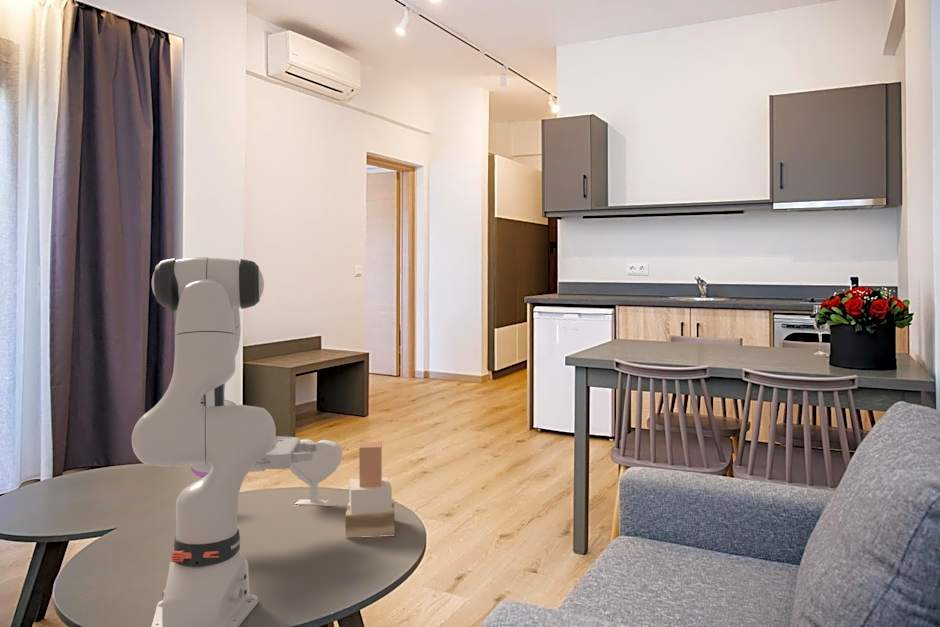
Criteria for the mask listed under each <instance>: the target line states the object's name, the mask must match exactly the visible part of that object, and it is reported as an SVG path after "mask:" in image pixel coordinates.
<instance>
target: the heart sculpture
mask: <svg viewBox="0 0 940 627" xmlns="http://www.w3.org/2000/svg"><path fill="white" fill-rule="evenodd" d="M300 441H301V443H308V444H317V450H316V451H315V452H312V453H313V459H312V460H309V461H301V462H297V463H293V464H292V465H291V467H290V468H289V470H290V471H291V473H292V474H293V475H295V477H297V478H298V479H299V480H301V481H303V482H304V483H305V484H307V485H308V486H309V493H310V494H309V495H310V497H309V499H298V500H299V501H297V502H296V503H295V504H324V503H327V501H328V500H326V501H325V499H319V484H320V483H321V482H323V481H325V480H326V479H327V478H328V477H330V476H331V475H332V474H333V473H335V472H336V471H337V469H338V467H339V466H340V464H341V462H342V458H343V451H342V450H343V449H342V446H341V445H340V444H339V443H338V442H335V441H332V440H328V439H321V440H319V441H318V442H315V441H314V440H312V439H310V438H307V439H300ZM305 452H309V451H303V452H299V453H305Z"/></svg>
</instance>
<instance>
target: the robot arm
mask: <svg viewBox="0 0 940 627" xmlns="http://www.w3.org/2000/svg"><path fill="white" fill-rule="evenodd" d="M264 287H265V281H264V276H263V274H262V271H261V270H260V266H259V265H258V264H257V263H256V262H255V261H253V260H249V259H243V258H240V259H239V260H238V259H229V258H215V257H214V258H213V257H212V258H211V257H205V256H204V257H202V256H200V257H190V258H189V257H188V258H179V259H177V258H176V257H175V258H169V259H163V260H161V261H159V263H158V264H156V265H155V268H154V271H153V274H152V278H151V289H152V293H153V295H154V297H155V300H156V302H157V303H158V304H159V305H161V306H162V307H163V308H166V309H168V310H169V309H170V311H171V312H175V311H176V316H175V329H174V331H175V332H174V333H175V334H174V336H175V337H174V361H173V370H172V371H173V372H172V376H171V378H170V379H171V380H170V382H169V385H168V387H167V389H166V391H165V393H164V395H163V396H162V397H161V398H160V399H159V401H158V402H157V403H156V404H155V405H154V406H153V407H152V408H151V409H150V410H148V411H147V412H145V413H144V414H143V415H142V416H141V417H140V418H139V419H138V421H137V422H136V423H135V424H134V427H133V430H132V433H131V446H132V450H133V453H134V454H135V456H136V457H137V459H138V460H139V461H140V462H141V463H142V464H144V465H147V466H157V467H166V468H167V467H168V468H170V467H172V468H173V467H186V466H190V468H191V467H192V468H193V469H195V470H197V471H201V472H209V473H208V474H207V475H206V476H205V477H203V478H202V479H198V480H196V481H194V482H192V483H191V484H189V485H188V486H186V487H185V488H183V489H182V490H181V492H179V495H178V496H177V499H176V503H175V517H176V518H175V522H176V523H175V524H176V525H175V526H176V527H175V528H176V529H175V530H176V532H175V533H176V535H175V536H174V540H173V545H172V552H171V556H170V559H171V561H170V562H169V564H168V573H167V579H166V583H165V584H166V585H165V589H164V590H163V591H162V598H163V600H160V601H158V602H157V604H156V608H155V611H154V614H153V615H154V616H153V618H152V622H151V626H150V627H240V625H241V624H242V623H243V622H244V621H245V619H246V618H247V617H248V616H249V615H250V614H251V612H252V611H253V609H254V608H255V607H257V604H258V603H259V597H258V596H257V595H256V594H253V593H251V592H250V578H249V576H250V575H249V574H250V573H249V562H248V561H249V560H247V559H246V557H244V556H243V554H241V552H240V550H241V535H240V530H239V528H238V509H239V508H238V507H239V497H240V490H241V488H242V485H243V483H244V481H245V478H246V476H247V475H248V473H250V472H252V473H253V472H265V471H266V470H287V469H290V467H291V465H292V464H293V463H297V462H301V461H309V460H312V459H313V453H312V452H315V451H316V450H317V444H308V443H301V441H300V440H301V438H300V437H297V436H283V435H281V436H280V435H277V434H276V433H277V428H276V424H275V421H274V419H273V417H272V415H271V414H270V412H269V411H268V410H267V409H266V408H264V407H262V406H261V407H260V406H252V405H247V404H236V403H234V402H233V401H231V400H227V399H225V390H226V383H227V382H228V381H230V379H231V378H232V377H233V376H234V374H235V371H236V357H237V354H238V351H239V346H240V340H241V330H242V328H241V314H240V309H241V310H244V309H248V308H251V307H254V306H256V305H257V304H258V303H259V302H260V299H261V297H262V296H263V292H264V289H265V288H264ZM276 435H277V436H276ZM303 451H309V452H305V453H299V452H303Z"/></svg>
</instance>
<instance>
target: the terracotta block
mask: <svg viewBox="0 0 940 627" xmlns="http://www.w3.org/2000/svg"><path fill="white" fill-rule="evenodd" d="M358 448H359V450H358V451H359V454H358V455H359V458H358V460H359V461H358V462H359V466H358V468H359V471H358V472H359V479H360V487H378V486H381V483H382V477H383V473H382V472H383V470H382V468H383V467H382V463H383V462H382V458H383V456H382V454H383V453H382V452H383V451H382V441H381V442H379V441H378V442H377V441H376V442H373V441H371V442H360V444H359V447H358Z"/></svg>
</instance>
